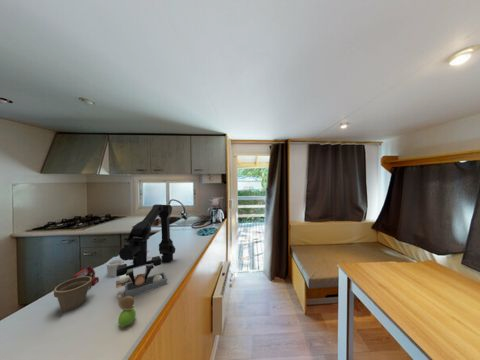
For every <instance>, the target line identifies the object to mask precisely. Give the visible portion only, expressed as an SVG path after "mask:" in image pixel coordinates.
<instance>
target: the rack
mask: <svg viewBox="0 0 480 360" xmlns="http://www.w3.org/2000/svg"><path fill="white" fill-rule="evenodd" d="M139 275H143V276H144V277H145V272H144V273H139V274H137V275H134V280H135V278H136V277H137V276H139ZM129 282H132V280H131V278H130V277H129V280H128V281H127V282H125V283H121V282H120V281H119V280H116V281H115V289H118V288H122V287H125V284H126V283H129Z"/></svg>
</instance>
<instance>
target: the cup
mask: <svg viewBox="0 0 480 360" xmlns="http://www.w3.org/2000/svg"><path fill="white" fill-rule="evenodd" d="M123 264H125V260H122V259H121V258H115V259H112V260H109V261H108V262H107V263H106V271H107V277H108V278H116V277H117V276H116V271H117V266H118V265H123Z"/></svg>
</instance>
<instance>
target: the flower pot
mask: <svg viewBox="0 0 480 360" xmlns="http://www.w3.org/2000/svg"><path fill="white" fill-rule="evenodd" d="M91 284H92V278H91V277H89V276H83V277H78V278H74V279H73V278H72V279H68V280H66V281H63V282H61V283H60V284H58V285H56V286H55V288H54V289H53V297H54V298H56V299H57V301H58V305H59V307H60V310H61V312H62V313H65V312H67V311H71V310H75V309H76V308H78V307H80V306H81V305H82V304H83V303H84V302H85V300H86V297H87V294H88V291H89V290H88V288H89V287H90V285H91Z"/></svg>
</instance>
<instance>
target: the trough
mask: <svg viewBox="0 0 480 360" xmlns="http://www.w3.org/2000/svg"><path fill="white" fill-rule="evenodd" d="M158 274H159V275H161V276H162V280H160V281H157V282H154V283H153V278H154V276H156V275H158ZM145 284H146V285H145ZM166 285H168V279H167V276H166V275H165V272H160V273H157V274H153V275H148V277H147V279H146V281H144V283H143V284H141V285H140V286H138V285H134V284H133V282H129V283H126V284H125V286H124V293H125V294H124V296H125V297H127V296H132V297H134V296H138V295H141V294H143V293H145V292H149V291H151V290H155V289H157V288H160V287H162V286H166ZM132 288H133V289H132ZM125 297H124V298H125Z"/></svg>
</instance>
